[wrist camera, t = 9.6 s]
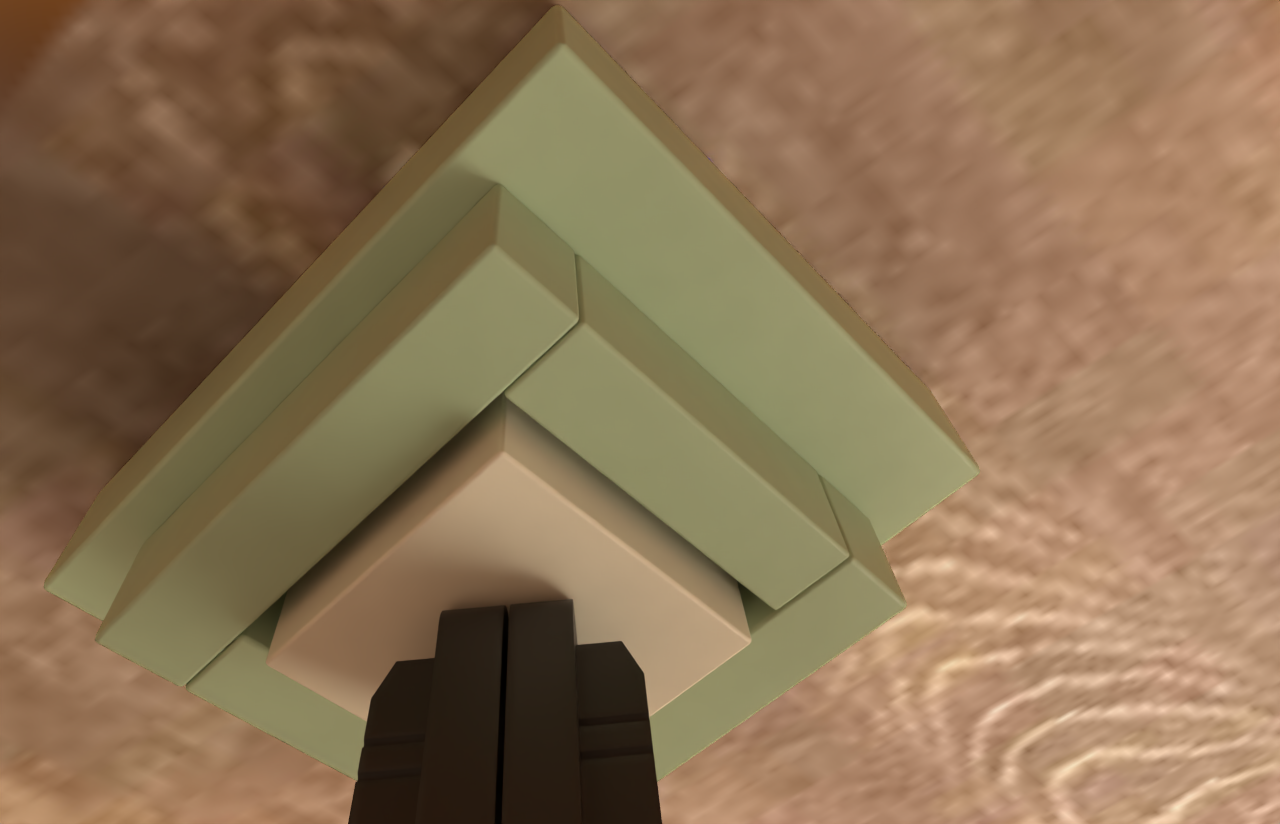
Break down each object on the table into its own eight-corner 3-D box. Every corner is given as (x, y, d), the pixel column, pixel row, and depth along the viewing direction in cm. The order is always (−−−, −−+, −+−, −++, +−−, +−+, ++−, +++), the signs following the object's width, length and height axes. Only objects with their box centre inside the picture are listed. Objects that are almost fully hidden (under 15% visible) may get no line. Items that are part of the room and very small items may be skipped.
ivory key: (506, 354, 12) (501, 450, 10) (727, 534, 14) (754, 643, 12) (298, 549, 13) (262, 664, 12) (523, 693, 15) (522, 811, 13)
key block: (557, 0, 12) (563, 83, 9) (932, 391, 16) (1039, 558, 12) (98, 491, 16) (-26, 691, 12) (494, 730, 19) (485, 937, 16)
